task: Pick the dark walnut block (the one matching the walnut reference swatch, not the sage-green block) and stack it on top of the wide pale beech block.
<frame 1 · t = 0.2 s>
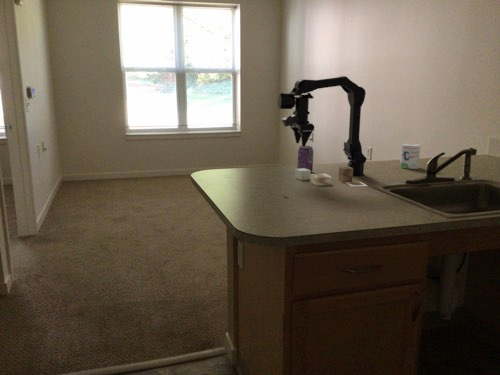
hand: (300, 144, 197), 14 cm above the worktop, fingers open, 9 cm apart
reference swatch: (356, 184, 187), on the worktop
beverage can: (304, 172, 210), on the worktop
ink box: (408, 168, 224), on the worktop
beech base: (320, 183, 189), on the worktop
walnut block: (345, 181, 193), on the worktop
sage block: (302, 178, 197), on the worktop
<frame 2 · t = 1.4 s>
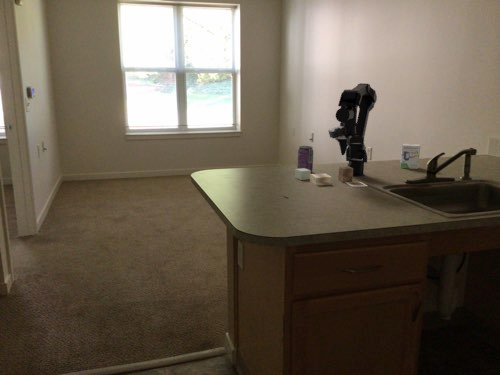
hand: (346, 157, 191), 11 cm above the worktop, fingers open, 9 cm apart
nothing on the worktop moved.
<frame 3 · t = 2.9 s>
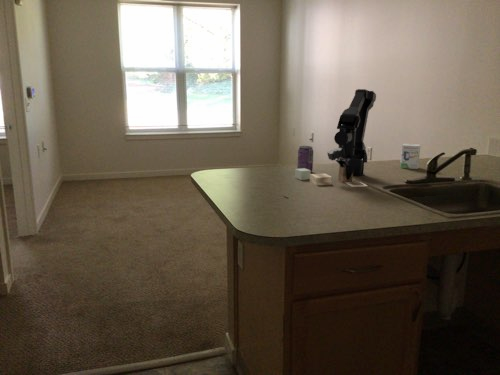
hand: (345, 178, 193), 1 cm above the worktop, fingers closed on walnut block, 4 cm apart
walnut block: (345, 181, 193), on the worktop, touching gripper
everything else where it was.
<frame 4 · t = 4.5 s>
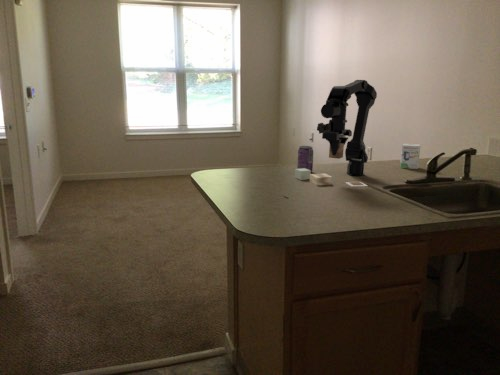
hand: (336, 154, 188), 12 cm above the worktop, fingers closed on walnut block, 4 cm apart
walnut block: (335, 157, 188), point 11 cm above the worktop, touching gripper
everything else where it was.
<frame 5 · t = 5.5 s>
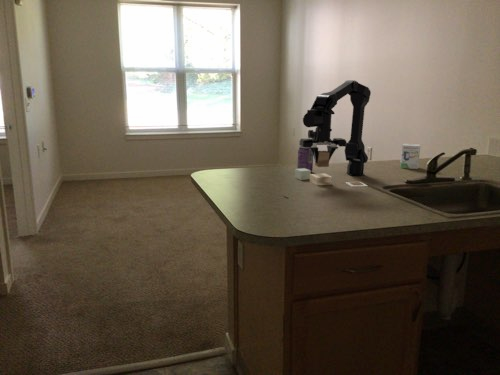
hand: (321, 162, 187), 9 cm above the worktop, fingers closed on walnut block, 4 cm apart
walnut block: (321, 165, 187), point 7 cm above the worktop, touching gripper
everything else where it was.
when the fingers open (6 cm above the worktop, at t = 6.3 s): walnut block drops 1 cm, point 3 cm above the worktop.
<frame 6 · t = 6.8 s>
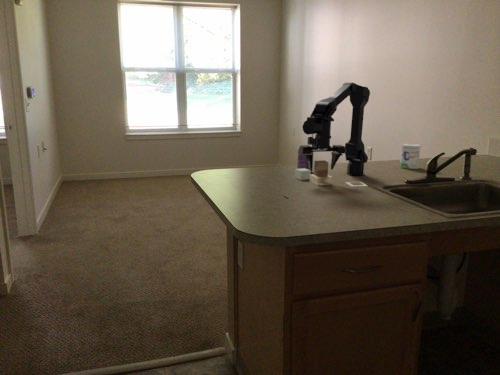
hand: (321, 169, 188), 6 cm above the worktop, fingers open, 9 cm apart
walnut block: (320, 175, 188), point 3 cm above the worktop
everything else where it was.
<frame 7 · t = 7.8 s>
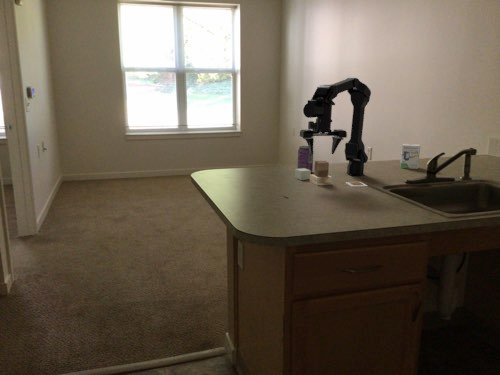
hand: (322, 154, 186), 12 cm above the worktop, fingers open, 9 cm apart
nothing on the worktop moved.
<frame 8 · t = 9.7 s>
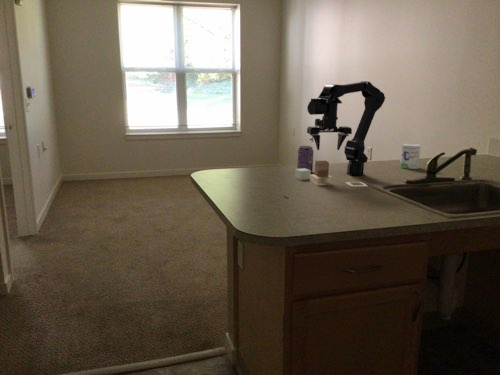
hand: (328, 150, 196), 13 cm above the worktop, fingers open, 9 cm apart
nothing on the worktop moved.
at the end: walnut block 0.2 cm off-centre on the beech base, point 3.5 cm above the beech base's base; walnut block tilted 1°; the gripper is holding nothing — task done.
